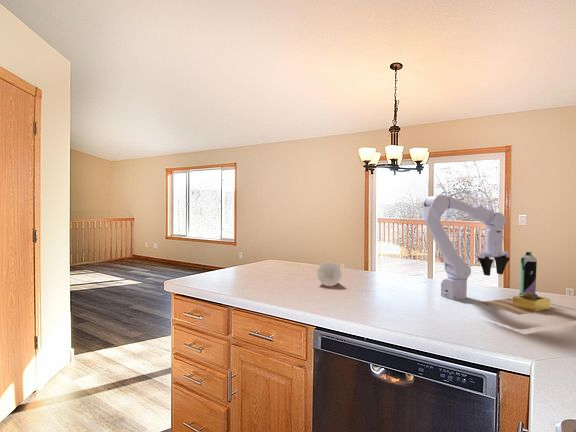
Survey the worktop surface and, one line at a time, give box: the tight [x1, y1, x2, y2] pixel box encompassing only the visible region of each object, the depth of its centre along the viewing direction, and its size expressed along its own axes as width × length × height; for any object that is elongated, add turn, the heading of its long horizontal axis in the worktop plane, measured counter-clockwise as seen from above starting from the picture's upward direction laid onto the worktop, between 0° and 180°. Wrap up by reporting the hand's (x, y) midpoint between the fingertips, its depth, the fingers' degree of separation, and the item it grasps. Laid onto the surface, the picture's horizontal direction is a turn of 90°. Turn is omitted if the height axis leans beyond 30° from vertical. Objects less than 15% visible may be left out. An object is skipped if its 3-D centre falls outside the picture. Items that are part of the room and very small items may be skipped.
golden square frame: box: [512, 293, 551, 313], centre depth 126 cm, size 8×8×4 cm
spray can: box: [518, 251, 538, 295], centre depth 142 cm, size 6×6×20 cm
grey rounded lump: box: [316, 261, 343, 287], centre depth 172 cm, size 12×12×18 cm
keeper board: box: [478, 294, 553, 315], centre depth 129 cm, size 18×16×6 cm
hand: (493, 274), depth 141 cm, fingers open, 7 cm apart
